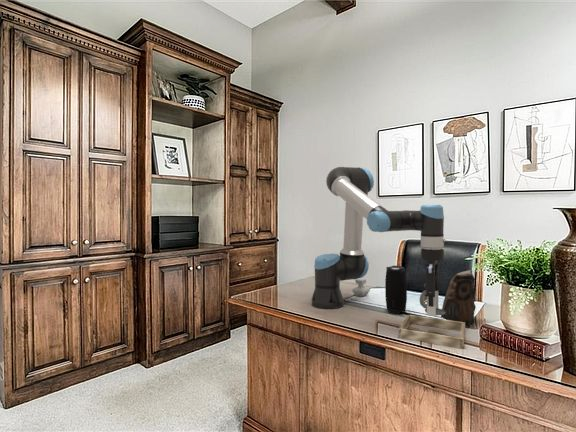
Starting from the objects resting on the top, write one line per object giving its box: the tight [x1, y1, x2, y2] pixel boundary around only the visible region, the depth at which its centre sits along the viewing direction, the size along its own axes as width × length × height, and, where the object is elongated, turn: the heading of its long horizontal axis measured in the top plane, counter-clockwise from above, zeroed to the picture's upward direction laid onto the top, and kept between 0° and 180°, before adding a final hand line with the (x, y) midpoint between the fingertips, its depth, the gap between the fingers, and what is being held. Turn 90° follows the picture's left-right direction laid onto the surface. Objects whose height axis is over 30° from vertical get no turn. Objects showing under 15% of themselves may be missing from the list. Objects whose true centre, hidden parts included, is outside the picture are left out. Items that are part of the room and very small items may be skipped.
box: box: [398, 314, 466, 350], centre depth 120 cm, size 20×18×3 cm
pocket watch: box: [419, 282, 446, 316], centre depth 120 cm, size 8×8×10 cm
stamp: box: [351, 278, 371, 297], centre depth 174 cm, size 9×7×8 cm
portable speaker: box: [384, 265, 408, 315], centre depth 146 cm, size 9×9×20 cm
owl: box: [440, 269, 476, 327], centre depth 132 cm, size 13×13×20 cm
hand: (432, 311), depth 120 cm, fingers closed on pocket watch, 8 cm apart
